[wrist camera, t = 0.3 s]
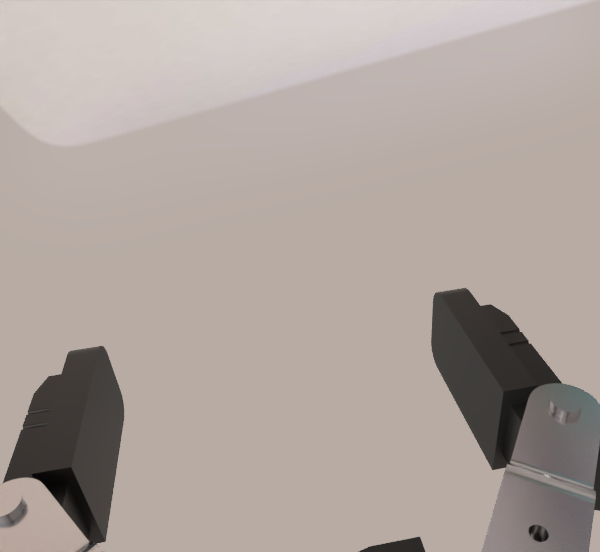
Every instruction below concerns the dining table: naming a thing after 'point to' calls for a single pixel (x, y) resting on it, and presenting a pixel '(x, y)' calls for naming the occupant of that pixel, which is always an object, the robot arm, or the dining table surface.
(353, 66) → the dining table surface
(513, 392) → the robot arm
